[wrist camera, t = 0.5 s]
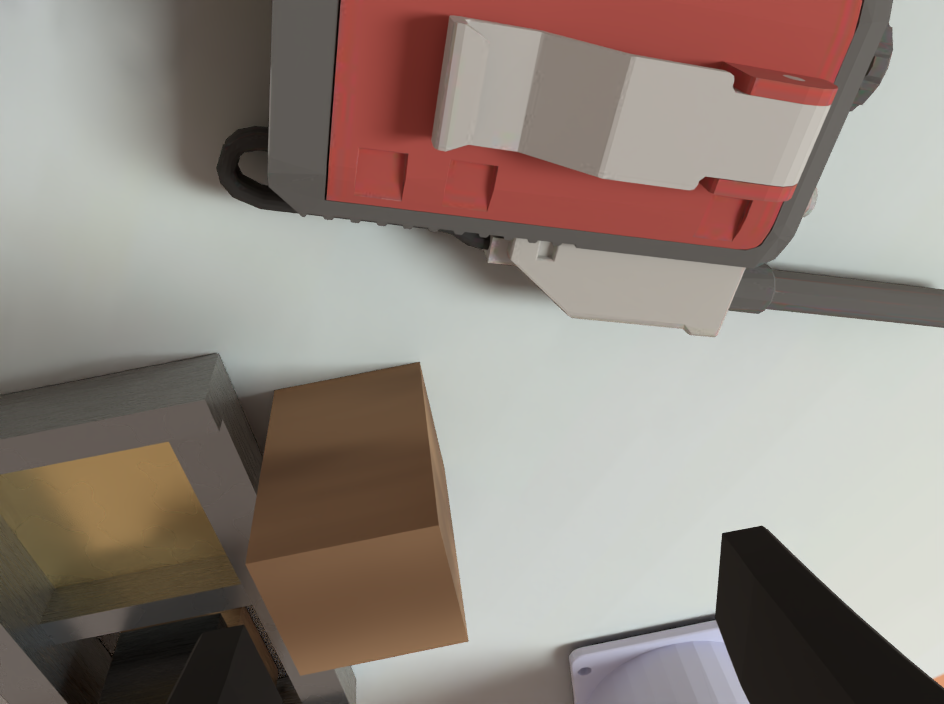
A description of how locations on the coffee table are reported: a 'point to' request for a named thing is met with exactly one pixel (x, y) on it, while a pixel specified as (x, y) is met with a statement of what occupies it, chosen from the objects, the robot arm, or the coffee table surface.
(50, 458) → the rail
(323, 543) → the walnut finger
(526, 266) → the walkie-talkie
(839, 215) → the coffee table surface
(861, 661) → the robot arm
